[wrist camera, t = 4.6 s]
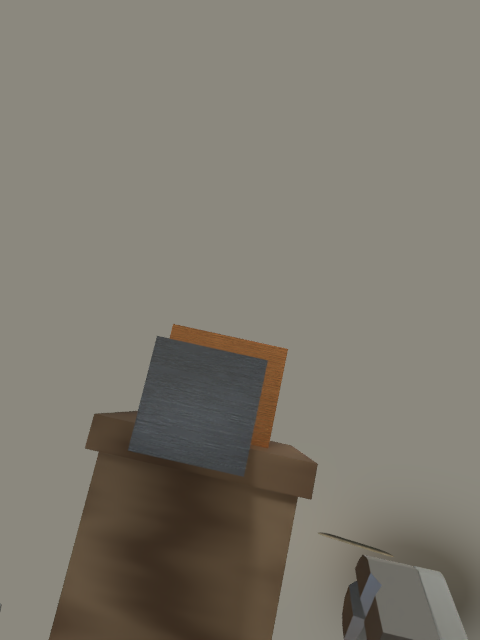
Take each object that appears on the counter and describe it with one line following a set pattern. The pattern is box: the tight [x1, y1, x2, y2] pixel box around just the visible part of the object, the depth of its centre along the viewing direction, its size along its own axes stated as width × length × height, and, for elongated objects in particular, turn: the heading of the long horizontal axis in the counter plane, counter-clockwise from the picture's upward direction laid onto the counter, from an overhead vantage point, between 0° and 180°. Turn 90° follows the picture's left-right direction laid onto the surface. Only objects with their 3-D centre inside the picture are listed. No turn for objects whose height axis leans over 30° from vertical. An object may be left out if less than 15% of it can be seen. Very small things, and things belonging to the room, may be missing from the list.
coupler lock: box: [128, 324, 288, 477], centre depth 20 cm, size 6×17×5 cm, turn 1°
